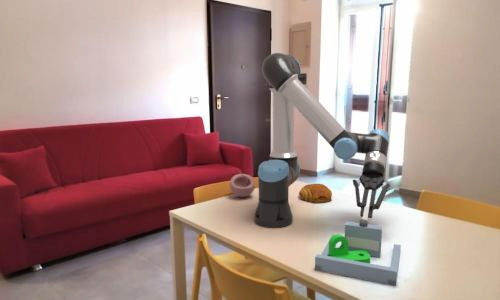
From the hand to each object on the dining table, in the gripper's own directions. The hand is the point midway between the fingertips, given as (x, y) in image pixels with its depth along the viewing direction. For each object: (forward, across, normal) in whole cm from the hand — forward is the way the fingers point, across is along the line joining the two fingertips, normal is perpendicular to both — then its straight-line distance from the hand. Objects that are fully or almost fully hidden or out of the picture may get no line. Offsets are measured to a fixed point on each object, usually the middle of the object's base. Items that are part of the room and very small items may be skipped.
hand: (364, 225), depth 124 cm
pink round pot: (-17, -61, +27) cm, 69 cm away
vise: (+13, +1, -4) cm, 13 cm away
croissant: (-25, -28, +35) cm, 51 cm away
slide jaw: (+9, +1, 0) cm, 9 cm away
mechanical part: (+15, -1, -5) cm, 16 cm away
